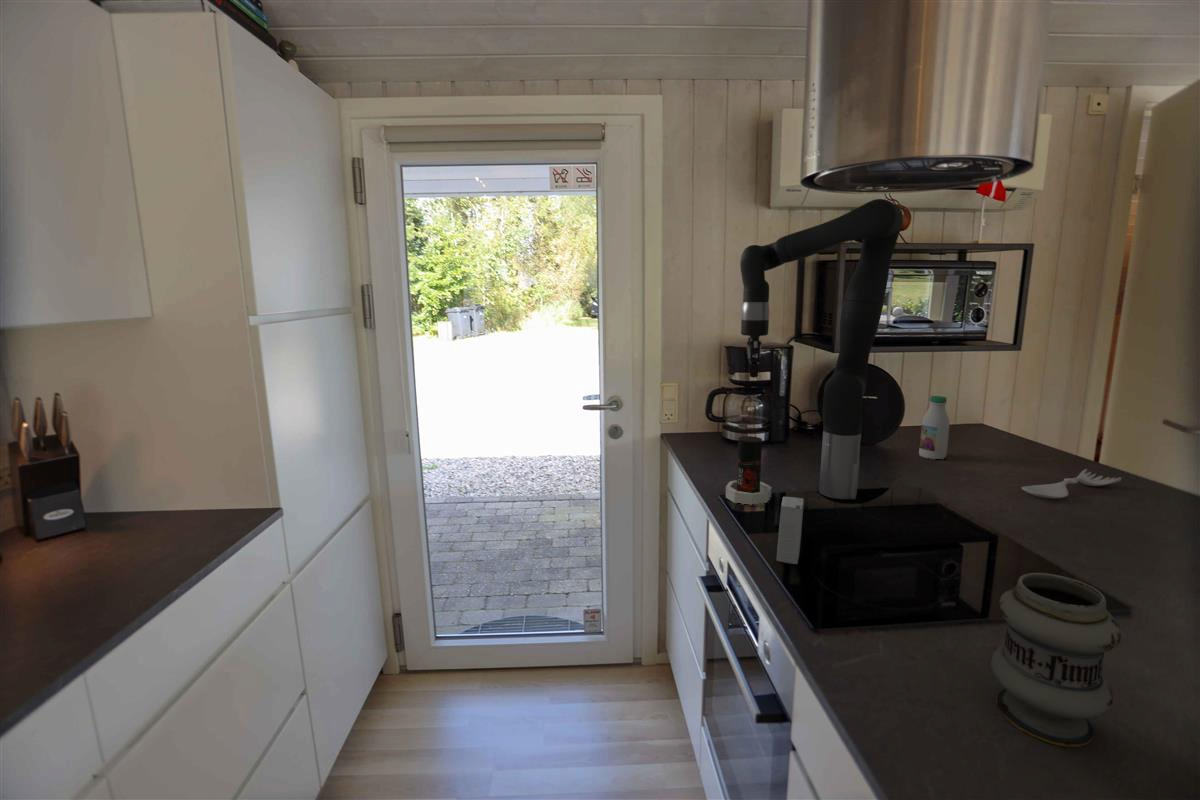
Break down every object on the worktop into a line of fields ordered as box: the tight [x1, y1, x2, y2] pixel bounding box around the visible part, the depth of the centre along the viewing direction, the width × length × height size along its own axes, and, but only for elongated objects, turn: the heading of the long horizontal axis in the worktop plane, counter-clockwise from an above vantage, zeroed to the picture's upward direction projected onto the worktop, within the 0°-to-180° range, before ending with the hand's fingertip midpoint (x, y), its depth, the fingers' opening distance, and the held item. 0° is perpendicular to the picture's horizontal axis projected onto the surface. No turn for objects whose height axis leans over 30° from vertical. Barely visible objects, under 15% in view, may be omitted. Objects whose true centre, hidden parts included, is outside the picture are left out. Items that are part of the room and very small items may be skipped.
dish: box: [725, 480, 772, 506], centre depth 150 cm, size 11×11×3 cm
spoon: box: [1021, 468, 1123, 500], centre depth 153 cm, size 9×32×4 cm, turn 113°
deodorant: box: [736, 435, 763, 493], centre depth 149 cm, size 6×6×15 cm
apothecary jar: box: [990, 572, 1122, 748], centre depth 71 cm, size 12×12×18 cm
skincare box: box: [775, 496, 805, 565], centre depth 115 cm, size 6×4×12 cm
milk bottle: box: [918, 395, 950, 460], centre depth 183 cm, size 8×8×20 cm
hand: (752, 375), depth 163 cm, fingers open, 8 cm apart
